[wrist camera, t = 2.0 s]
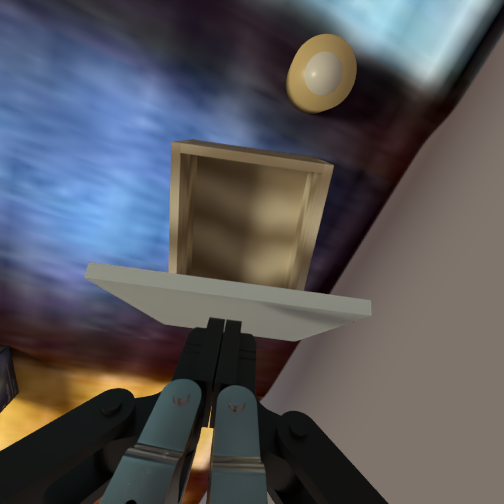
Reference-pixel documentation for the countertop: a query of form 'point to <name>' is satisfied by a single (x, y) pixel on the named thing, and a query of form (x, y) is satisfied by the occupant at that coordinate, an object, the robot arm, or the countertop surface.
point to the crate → (244, 213)
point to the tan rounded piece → (321, 74)
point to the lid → (228, 302)
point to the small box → (7, 378)
